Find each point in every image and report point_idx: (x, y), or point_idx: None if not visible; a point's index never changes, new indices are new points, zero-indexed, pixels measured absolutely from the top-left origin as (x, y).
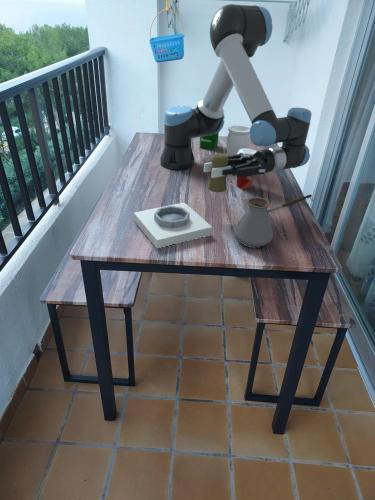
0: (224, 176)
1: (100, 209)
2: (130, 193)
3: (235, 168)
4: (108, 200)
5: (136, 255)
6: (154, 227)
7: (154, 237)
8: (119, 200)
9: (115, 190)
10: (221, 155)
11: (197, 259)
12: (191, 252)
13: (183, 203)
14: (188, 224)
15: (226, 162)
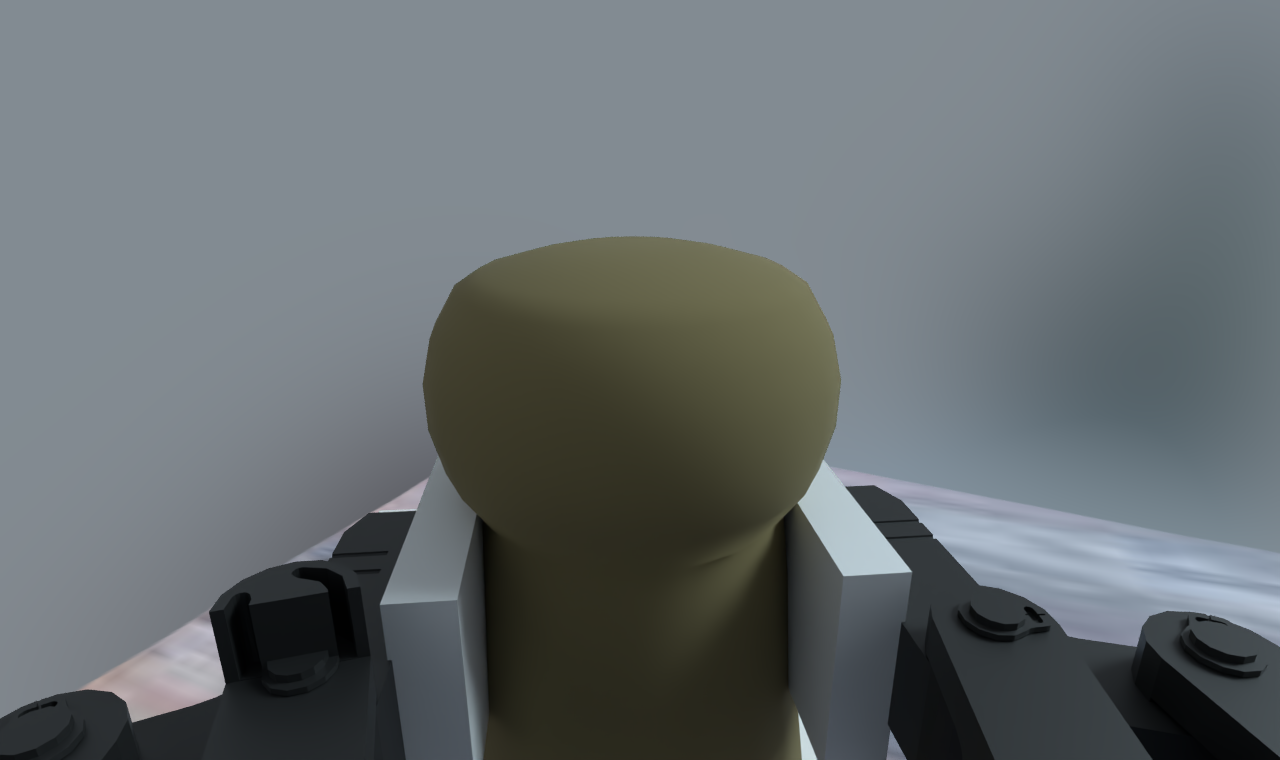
0: None
1: (868, 479)
2: (1124, 595)
3: (230, 697)
4: (982, 509)
5: (402, 503)
6: None
7: (412, 510)
8: (990, 540)
9: (1147, 547)
10: (577, 245)
11: (116, 676)
12: (207, 673)
13: (806, 755)
14: None
15: (427, 404)
